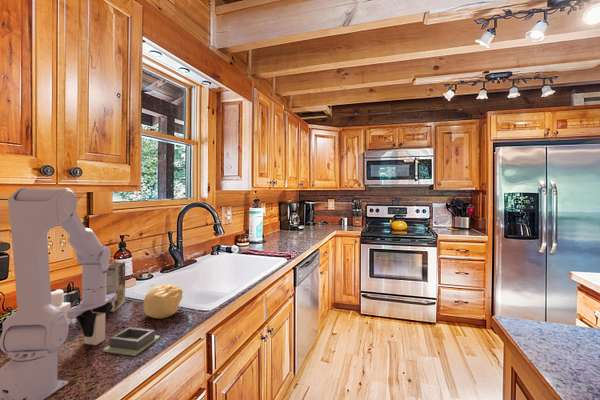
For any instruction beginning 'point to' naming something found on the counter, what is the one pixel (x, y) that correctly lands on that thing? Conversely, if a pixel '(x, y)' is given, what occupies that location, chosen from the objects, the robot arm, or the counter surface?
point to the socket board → (131, 341)
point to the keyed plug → (97, 330)
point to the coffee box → (116, 283)
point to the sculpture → (162, 301)
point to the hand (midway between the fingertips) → (94, 333)
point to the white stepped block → (60, 302)
